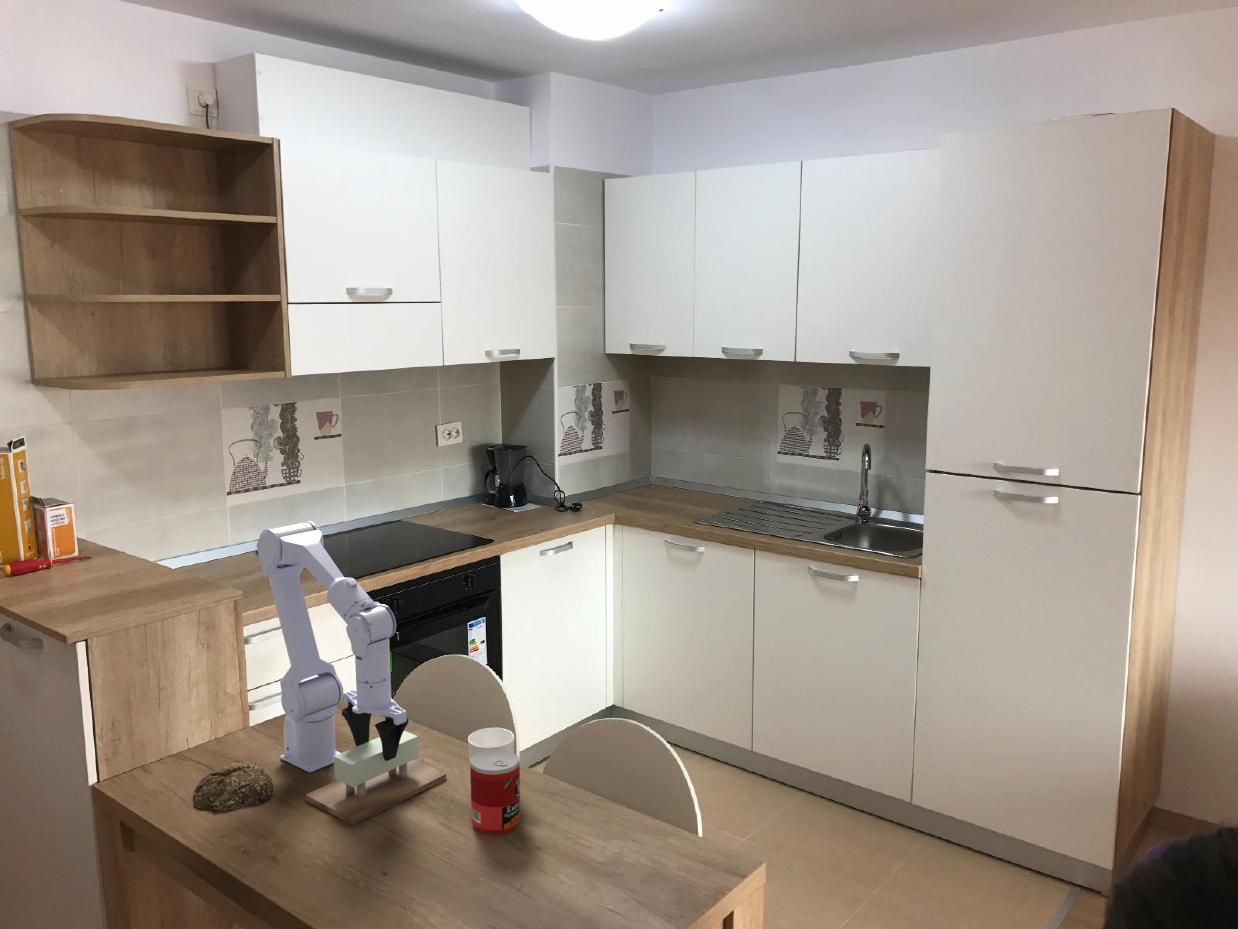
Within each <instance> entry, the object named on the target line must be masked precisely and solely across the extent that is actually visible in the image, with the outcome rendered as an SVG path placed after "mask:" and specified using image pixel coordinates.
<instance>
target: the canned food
mask: <svg viewBox="0 0 1238 929" xmlns="http://www.w3.org/2000/svg"><path fill="white" fill-rule="evenodd" d="M520 768H521V767H520V757H519V756H518V755H517V754H516V753H515V752H514V753H512V752H510V751H506V750H487V751H483V752H480V753H477V754H476V755H474V756H473V757H472V758H471V763H470V762H469V772H470V773H469V774H470V805H471V806H470V812H471V817H470V818H471V822H472V826H473V828H474V829H476V830H477V831H478V832H481V833H483V834H487V835H501V834H506V833H509V832H512V831H514V830H515V829H516V828H517V827H518V825H519V823H520V818H521V789H520V788H521V780H520V778H521V777H520V776H521V775H520V774H521V772H520V770H521V769H520Z"/></svg>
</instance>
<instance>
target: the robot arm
mask: <svg viewBox="0 0 1238 929" xmlns="http://www.w3.org/2000/svg"><path fill="white" fill-rule="evenodd" d="M324 544H325V543H324V535H323V533H322V532H321V531H320V529H319V527H318V526H317V525H316V523H314V522H313V521H311V520H306V521H304V522H300V523H295V524H291V525H284V526H281V527H280V526H279V527H275V528H267V529H264V530H262V531H261V533H260V534H259V538H258V540H257V543H256V550H257V553H258V555H257V556H258V558H259V561H260V562H259V563H260V566H261V569H262V573H263V576H265V577H268V580H269V584H270V588H271V593H272V596H273V601H274V604H275V605H274V606H275V608H276V612H277V616H278V620H279V624H280V628H281V631H282V632H281V633H282V635H283V640H284V643H285V644H284V645H285V647H286V651H287V652H286V653H287V655H288V658H289V659H288V660H289V663H290V664H289V665H290V666H289V669H287V671H286V673H285V674H284V676H283V677H282V678H281V679H280V681H279V684H280V689H281V690H280V691H281V695H280V696H281V697H280V700H281V702H280V703H281V706H282V710H283V711H284V713H285V715H286V716H285V718H284V721H283V725H282V727H283V744H284V745H283V746H284V748H283V749H284V754H281V755H280V759H281V760H282V761H284V762H287V763H289V764H291V765H293V766H295V767H297V768H299V769H301V770H303V771H305V772H308V773H313V772H315V771H318V770H320V769H323V768H326V767H327V766H330V765H333V764H334V756H336V755H338V754H340V753H341V752H340V751H338V750H337V749H336V728H335V725H336V724H335V712H337V711H338V706H339V705H340V704H341V703H342V701H343V704H345V705H347V707H345V708H343V709H342V710H341V715H342V717H343V718H344V720H345V721H346V722H347V725H348V726H349V729H350V731H351V735H352V737H353V741H354V745H355V747H357V746H359V745H362V744H364V743H367V742H369V741H370V728H371V727H370V725H371V718H372V715H378V716H380V717H383V718H384V720H382V721H380V722H378V723H377V722H376V723H375V725H374V727H375V729H376V731H377V732H378V735H379V737H380V739H381V743H382V752H383V757H384V760H386V761H389V760H391V759H393V758H395V757H396V755H397V750H398V746H399V742H400V739H401V736H402V734H403V731H405V730H406V728H407V727H408V726H407V725H409V717H407V710H405V709H404V708H402V707H401V706H399V704H397V702H396V701H395V700H394V699H393V698H392V685H391V682H392V681H391V680H392V679H391V658H390V652H391V651H390V638H392V637H393V636H394V635H395V633H396V631H397V622H396V621H397V620H396V616H395V614H394V613H393V611H392V609H391V608H390V606H388V605H386V604H382V603H380V602H379V601H374V600H373V599H372V598H371V597H370V596H369V595H368V593H367V592H366V591H365V590H364V588H362V586H361V585H360V584H359V583H358V582H357V581H356V579H355V578H353V577H345V576H344V575H343V573H342V572H341V571H340V569H339V568H338V566H337V565H336V563H335V561H333V559H332V557H331V556H330V555H329V553H328V551H327V550H326V549H325V547H324ZM304 568H305V569H306V570H307V571H308V572H309V573H310V574H311V575H312V576H313V577H314V578H315V579H316V580H317V581H318V582H319V583H320V584H321V585H322V586H323V587H324V588H326V590H327V594H326V599H327V600H326V601H327V602H328V603H329V604H330V605H331V607H332V608H333V609H334V610H335V611H336V613H337V614H338V615H339V616H340V618H341V619H342V621H343V622H344V623H345V624H346V625H347V626H345V630H346V635H347V637H348V640H349V641H350V642H349V643H350V645H351V646H350V648H351V649H350V650H351V652H352V654H353V655H354V657H355V658H354V661H355V664H354V665H355V684H356V687H355V688H356V689H355V690H354V689H351V690H349V691H346V692H344V687H343V684H342V682H341V680H340V679H341V678H339V677H338V675H337V672H336V669H335V668H336V667H335V665H334V664H332V663H330V662H327V661H326V660H323V659H321V658H320V657H321V656H320V653H319V648H318V646H317V641H316V638H315V634H314V630H313V625H312V622H311V617H310V615H309V614H310V613H309V611H308V606H307V603H306V599H305V594H304V591H303V587H302V583H301V579H300V575H302V574H301V573H302V571H303V570H304ZM315 676H316V677H315ZM305 679H307V680H305ZM304 680H305V681H304Z"/></svg>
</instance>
